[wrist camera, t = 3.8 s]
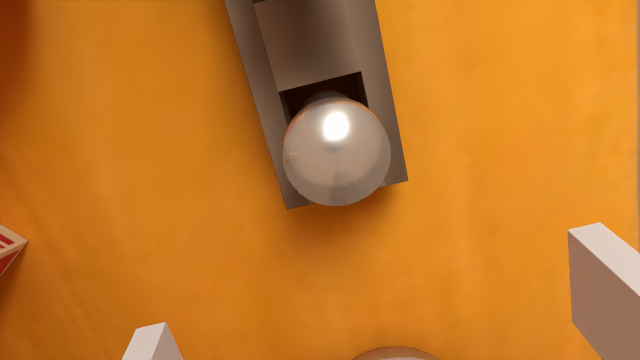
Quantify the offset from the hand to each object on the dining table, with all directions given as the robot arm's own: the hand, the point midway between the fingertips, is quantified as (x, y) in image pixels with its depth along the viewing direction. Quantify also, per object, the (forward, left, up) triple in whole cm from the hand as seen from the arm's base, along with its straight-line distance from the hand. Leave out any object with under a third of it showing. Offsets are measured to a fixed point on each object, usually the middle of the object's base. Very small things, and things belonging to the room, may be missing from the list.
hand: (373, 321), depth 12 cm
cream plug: (0, 0, -19) cm, 19 cm away
